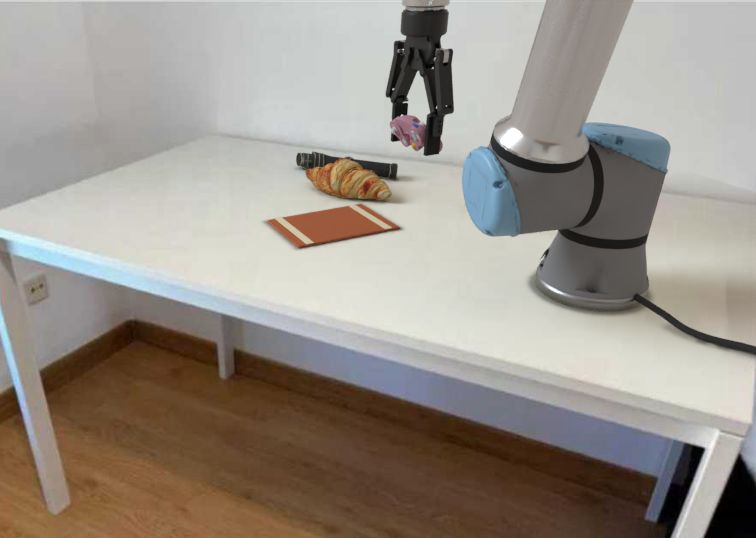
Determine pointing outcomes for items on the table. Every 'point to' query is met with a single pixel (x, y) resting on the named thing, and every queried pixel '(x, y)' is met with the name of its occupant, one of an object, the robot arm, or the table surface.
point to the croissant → (348, 181)
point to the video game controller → (410, 131)
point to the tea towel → (331, 225)
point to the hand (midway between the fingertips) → (414, 147)
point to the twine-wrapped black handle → (323, 159)
